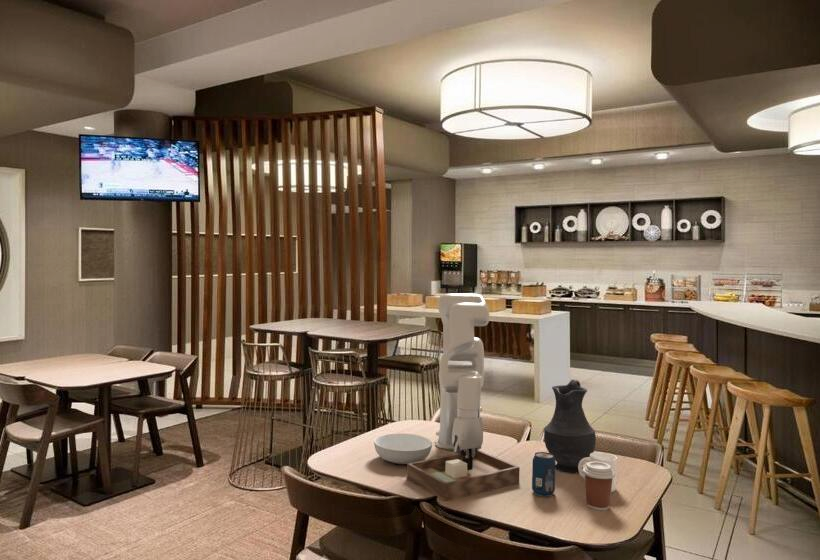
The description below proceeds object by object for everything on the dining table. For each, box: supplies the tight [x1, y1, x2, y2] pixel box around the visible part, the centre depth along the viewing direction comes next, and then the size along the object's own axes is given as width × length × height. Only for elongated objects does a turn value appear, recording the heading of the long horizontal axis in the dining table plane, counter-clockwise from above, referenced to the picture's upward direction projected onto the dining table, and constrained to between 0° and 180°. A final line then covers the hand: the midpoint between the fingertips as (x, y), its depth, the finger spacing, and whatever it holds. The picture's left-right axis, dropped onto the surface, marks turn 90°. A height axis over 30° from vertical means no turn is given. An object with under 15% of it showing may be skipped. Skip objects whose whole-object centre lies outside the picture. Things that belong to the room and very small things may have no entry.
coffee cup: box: [583, 461, 615, 511], centre depth 169 cm, size 9×9×12 cm
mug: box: [578, 451, 618, 493], centre depth 184 cm, size 12×8×10 cm
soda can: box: [531, 451, 557, 498], centre depth 178 cm, size 7×7×12 cm
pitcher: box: [543, 379, 597, 474], centre depth 202 cm, size 17×21×30 cm
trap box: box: [406, 449, 520, 502], centre depth 187 cm, size 30×21×5 cm
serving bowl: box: [373, 432, 433, 465], centre depth 207 cm, size 21×21×7 cm
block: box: [445, 459, 467, 478], centre depth 186 cm, size 5×5×4 cm
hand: (467, 468), depth 188 cm, fingers closed
